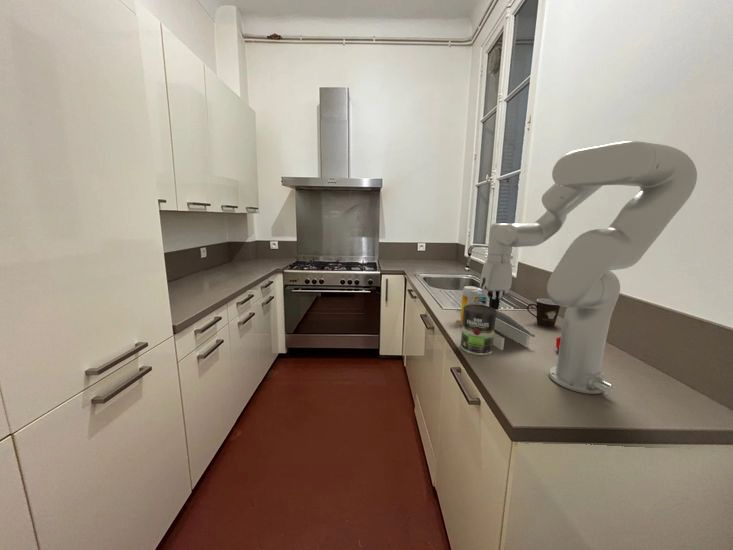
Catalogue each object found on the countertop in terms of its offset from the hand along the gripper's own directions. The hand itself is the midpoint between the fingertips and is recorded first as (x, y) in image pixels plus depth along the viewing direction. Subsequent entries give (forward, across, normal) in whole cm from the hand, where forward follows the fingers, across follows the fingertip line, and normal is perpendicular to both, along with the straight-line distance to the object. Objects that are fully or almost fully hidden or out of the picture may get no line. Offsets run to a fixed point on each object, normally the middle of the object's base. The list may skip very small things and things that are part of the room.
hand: (493, 308), depth 107 cm
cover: (+4, -3, 0) cm, 4 cm away
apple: (+11, -17, +16) cm, 26 cm away
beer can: (+11, 0, -15) cm, 19 cm away
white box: (+11, -2, 0) cm, 11 cm away
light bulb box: (+11, -11, -27) cm, 31 cm away
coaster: (+11, 0, -16) cm, 19 cm away
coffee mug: (+11, -30, -8) cm, 33 cm away
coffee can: (+11, +11, +7) cm, 17 cm away
